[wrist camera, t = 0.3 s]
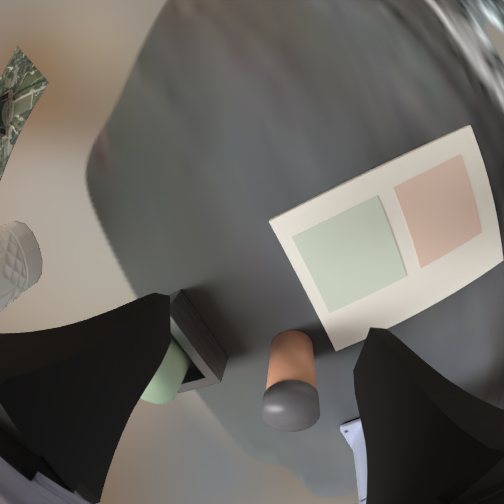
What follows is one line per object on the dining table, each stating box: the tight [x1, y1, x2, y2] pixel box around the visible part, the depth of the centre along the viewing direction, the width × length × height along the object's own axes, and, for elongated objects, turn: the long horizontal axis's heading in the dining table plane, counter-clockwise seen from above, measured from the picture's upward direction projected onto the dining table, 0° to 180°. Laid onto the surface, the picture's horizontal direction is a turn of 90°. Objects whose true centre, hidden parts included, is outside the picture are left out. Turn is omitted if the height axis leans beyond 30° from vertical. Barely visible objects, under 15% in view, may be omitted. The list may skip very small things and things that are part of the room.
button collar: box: [169, 290, 228, 393], centre depth 21 cm, size 7×7×3 cm
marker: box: [261, 330, 320, 432], centre depth 18 cm, size 3×3×7 cm
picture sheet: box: [269, 125, 503, 351], centre depth 17 cm, size 11×16×1 cm
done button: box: [140, 333, 192, 404], centre depth 19 cm, size 4×4×4 cm
